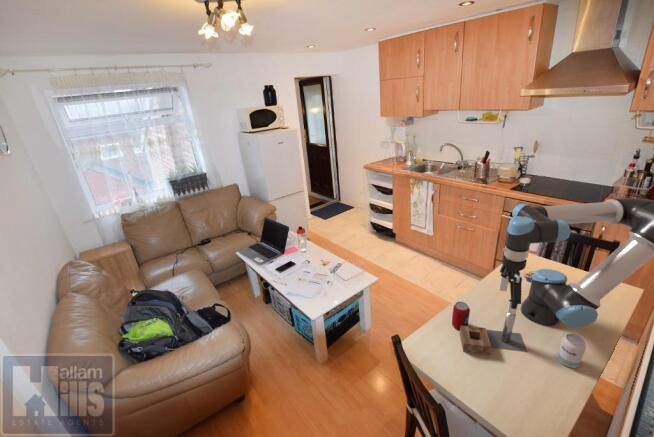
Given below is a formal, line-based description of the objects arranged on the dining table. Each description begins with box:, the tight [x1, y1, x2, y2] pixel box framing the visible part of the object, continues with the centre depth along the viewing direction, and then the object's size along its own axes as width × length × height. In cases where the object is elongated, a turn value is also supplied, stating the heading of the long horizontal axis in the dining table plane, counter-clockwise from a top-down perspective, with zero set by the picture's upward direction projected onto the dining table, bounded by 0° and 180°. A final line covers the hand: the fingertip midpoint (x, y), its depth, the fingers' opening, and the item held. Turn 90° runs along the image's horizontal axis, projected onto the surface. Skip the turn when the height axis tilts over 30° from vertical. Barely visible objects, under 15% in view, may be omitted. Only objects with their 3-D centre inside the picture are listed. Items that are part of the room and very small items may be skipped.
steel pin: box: [501, 312, 517, 343], centre depth 124 cm, size 3×3×15 cm
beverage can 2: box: [556, 333, 587, 369], centre depth 113 cm, size 7×7×12 cm
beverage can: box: [451, 301, 471, 331], centre depth 134 cm, size 7×7×12 cm
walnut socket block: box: [459, 325, 492, 356], centre depth 126 cm, size 10×10×5 cm
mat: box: [486, 329, 529, 353], centre depth 127 cm, size 14×10×1 cm
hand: (506, 301), depth 120 cm, fingers open, 13 cm apart
